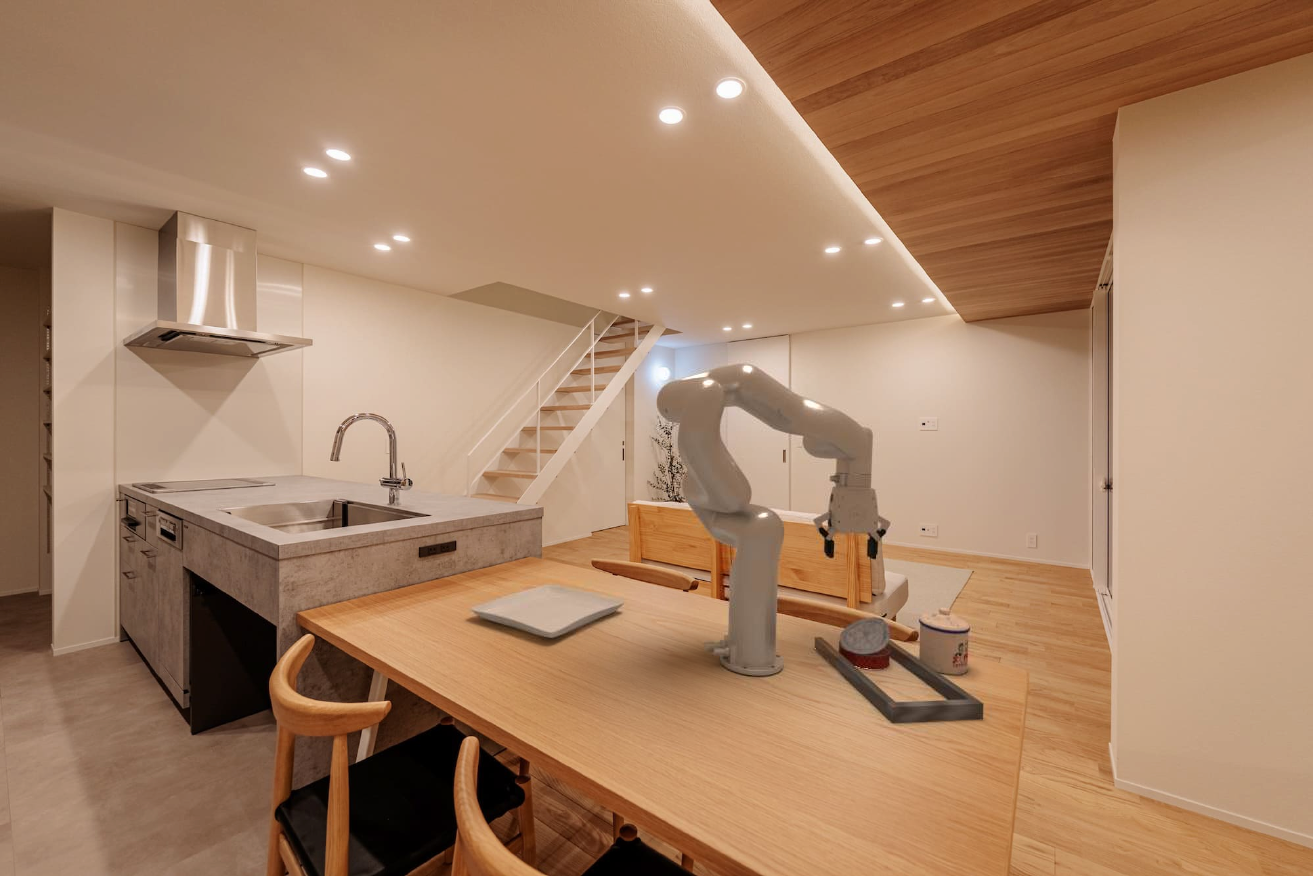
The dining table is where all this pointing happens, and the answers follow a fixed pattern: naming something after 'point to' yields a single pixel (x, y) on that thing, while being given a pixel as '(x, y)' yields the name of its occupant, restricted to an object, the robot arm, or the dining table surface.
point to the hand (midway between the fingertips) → (850, 557)
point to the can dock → (916, 711)
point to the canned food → (866, 643)
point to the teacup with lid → (944, 642)
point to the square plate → (548, 609)
